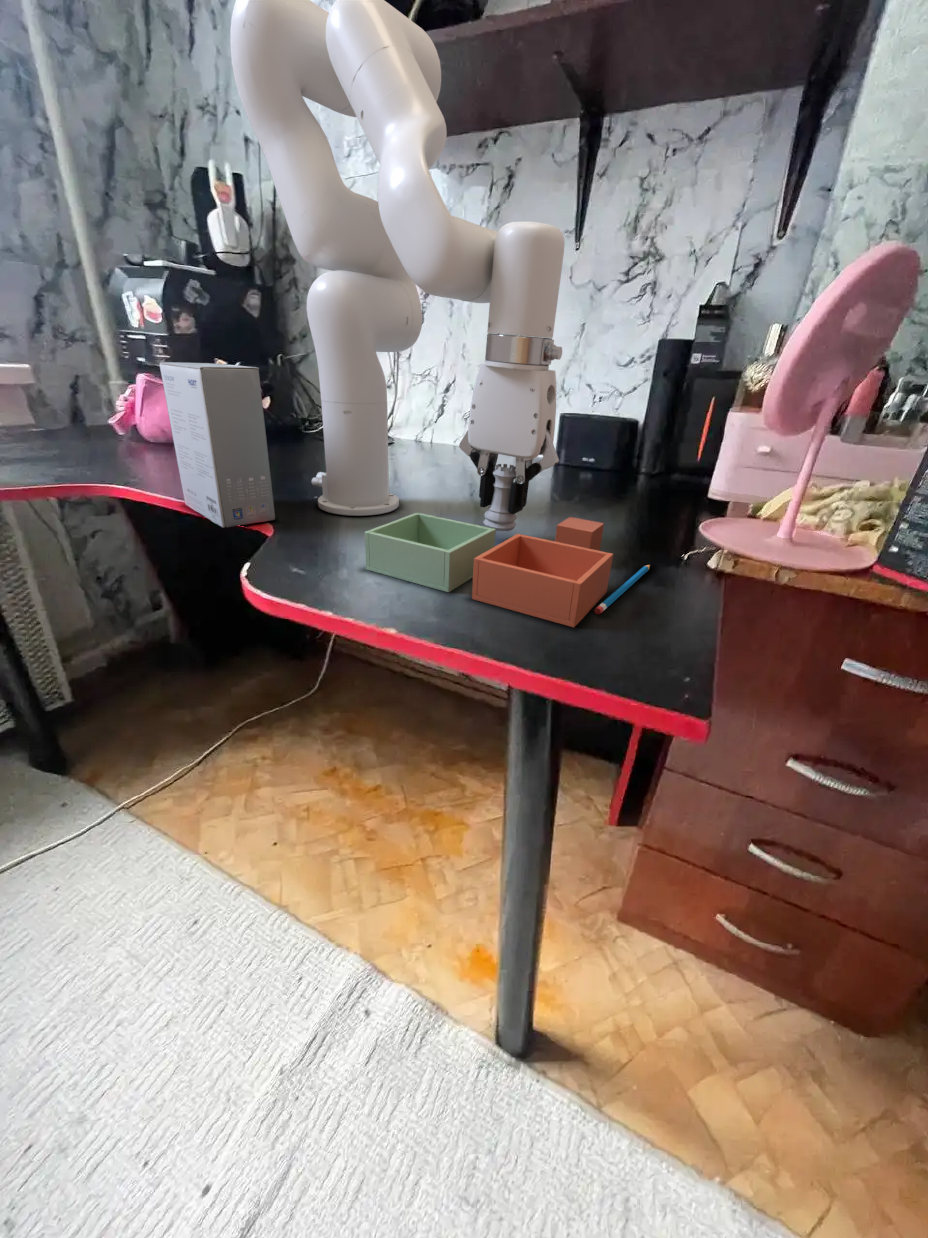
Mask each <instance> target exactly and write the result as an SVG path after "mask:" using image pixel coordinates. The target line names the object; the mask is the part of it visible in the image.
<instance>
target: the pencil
mask: <svg viewBox="0 0 928 1238" xmlns="http://www.w3.org/2000/svg"><path fill="white" fill-rule="evenodd" d="M650 567H651V564H647V565H644V566H642V567H641V568H640V569H639V570H638V571H637V572H635V573H634V574H633V575H632V576H631V577H629V579H627V581H625V582H624V583H622V585H620V586H619V587H618V588H617V589H616V590H614V591H613V593H611V594H610V595H609V596H608V597H607V598H606V599H605V600H604V601H602V602H601V603H600V604H599V605H597V607H596V608H595V609H594V610H593V611H594V614H595V615H601V614H602V613H603V612H604V611H605V610H606V609H608V608H609V606H611V605H612V604H613V603H614V602H615V601H616V600H618V599H619V598H620V597H621V596H622V595H623V594H624V593H625V592H626V591H628V589H630V588H631V587H632V586H633V585H634V584H635V583H636V582H638V581H639V579H640V578H641V577H643V576H644V575H645V574H646V573H648V571H649V570H650Z"/></svg>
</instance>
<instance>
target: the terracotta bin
mask: <svg viewBox="0 0 928 1238" xmlns="http://www.w3.org/2000/svg"><path fill="white" fill-rule="evenodd" d="M613 558H614V553H612V552H607V551H602V550H600V551H598V550H593V549H588V548H583V547H579V546H574V545H569V544H564V543H560V542H555V540H550V539H545V538H541V537H535V536H531V535H526V534H521V533H516V534H514V535H513V536H511V537H509V538H508V539H505V540H503V542H501V543H499V544H497V545H495V546H494V547H493V548H492V549H490V550H488V551H486V552H484V553H483V554H481V555H479V556H477V557H476V558H474V569H473V578H472V589H471V599H472V600H474V601H478V602H482V603H484V604H487V605H491V606H495V607H498V608H502V609H506V610H510V611H513V612H517V613H519V614H524V615H528V616H532V617H535V618H538V619H542V620H545V621H549V622H553V623H556V624H559V625H564V626H567V627H571V628H575V627H576V626H577V625H578V624H579V623H580V622H581V621H582V620H583V619H584V618H585V616H587V614H588V613H589V612H590V611H591V610H593V608H594V607H595V606H596V605H597V604H598V603H599V601H601V599H602V598H603V597H604V596H605V595H606V594H607V593H608V587H609V581H610V575H611V571H612V564H613Z"/></svg>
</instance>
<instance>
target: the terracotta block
mask: <svg viewBox="0 0 928 1238" xmlns="http://www.w3.org/2000/svg"><path fill="white" fill-rule="evenodd" d="M604 527H605V524H604V522H599V521H595V520H588V519H583V518H578V517H573V516H569V517H568V518H565V519H564V520H563V521H561V522H560V523H558V524H556V529H555V530H556V531H555V538H554V541H555V542H560V543H564V544H569V545H574V546H579V547H583V548H588V549H593V550H598V551H601V544H602V539H603V533H604Z"/></svg>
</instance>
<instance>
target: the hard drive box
mask: <svg viewBox="0 0 928 1238" xmlns="http://www.w3.org/2000/svg"><path fill="white" fill-rule="evenodd" d="M158 366H159V370H160V375H161V380H162V386H163V391H164V397H165V402H166V408H167V414H168V419H169V424H170V429H171V436H172V440H173V446H174V451H175V452H174V453H175V458H176V462H177V468H178V473H179V478H180V485H181V490H182V495H183V500H184V504H185V506H186V507H188V508H190V509H191V510H193V511H194V512H196V513H198V514H200V515H201V516H203V517H205V518H206V519H208V520H209V521H211V522H212V523H214V524H216V525H217V526H219V527H221V528H223V529H225V528H226V529H227V528H232V527H238V526H243V525H244V526H245V525H251V524H256V523H262V522H263V523H264V522H269V521H275V520H276V513H275V505H274V495H273V485H272V478H271V469H270V461H269V460H270V459H269V452H268V450H269V449H268V442H267V441H268V440H267V434H266V425H265V416H264V415H265V414H264V407H263V406H264V405H263V398H262V389H261V387H262V386H261V379H260V372H259V371H260V367H256V366H245V365H236V364H223V363H222V364H221V363H211V362H210V363H209V362H173V361H171V362H169V361H168V362H167V361H164V362H163V361H160V362H159V365H158Z"/></svg>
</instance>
